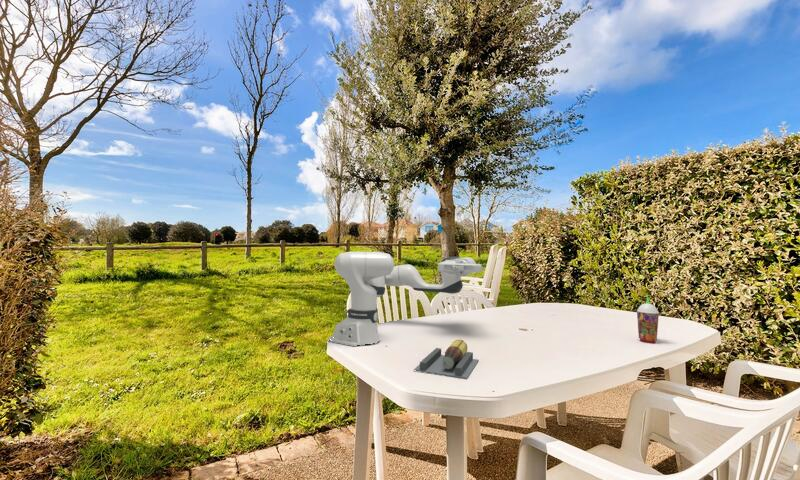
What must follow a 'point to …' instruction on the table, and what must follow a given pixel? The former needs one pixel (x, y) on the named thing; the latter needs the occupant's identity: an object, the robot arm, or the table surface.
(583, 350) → the table surface
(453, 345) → the sauce bottle
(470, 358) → the holder
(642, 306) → the smoothie
